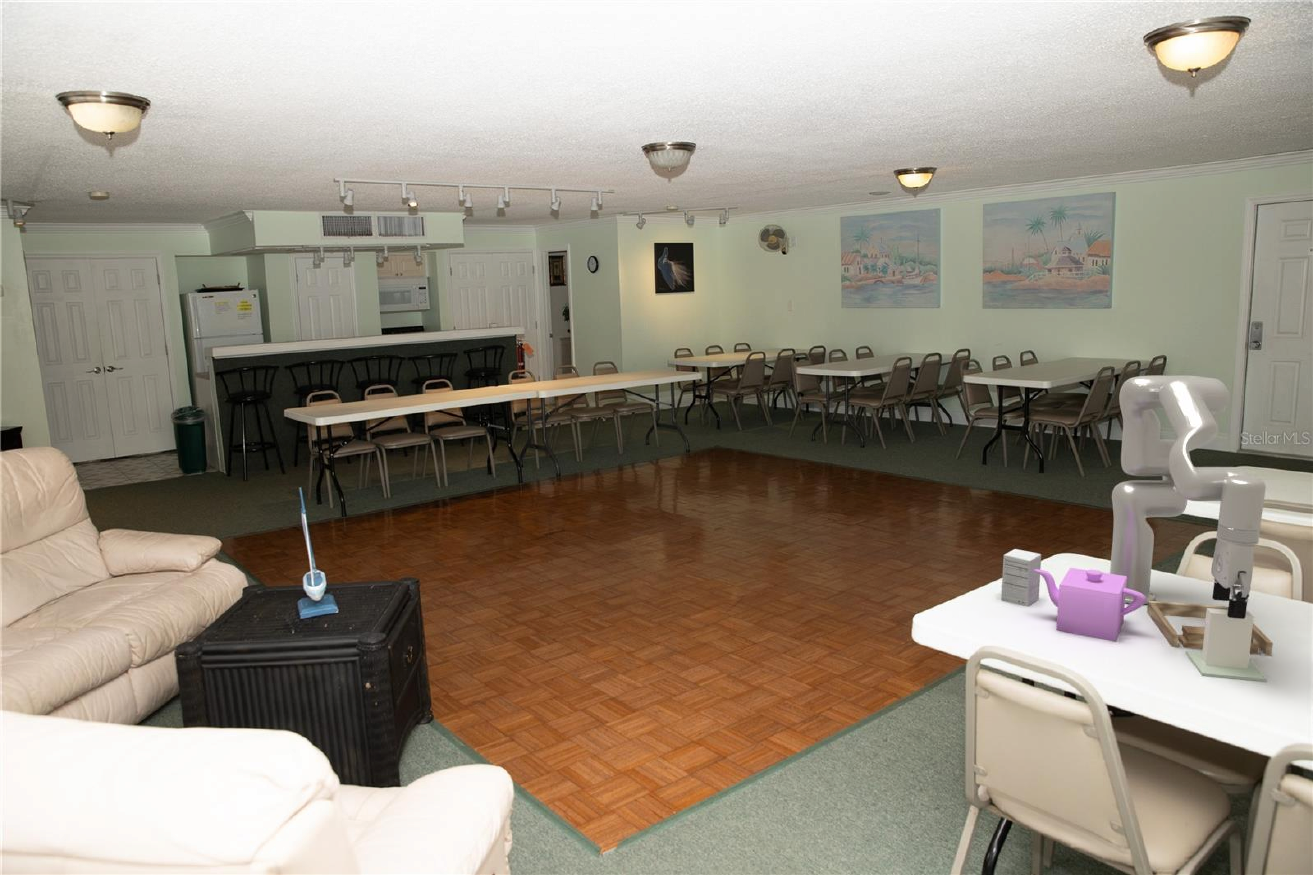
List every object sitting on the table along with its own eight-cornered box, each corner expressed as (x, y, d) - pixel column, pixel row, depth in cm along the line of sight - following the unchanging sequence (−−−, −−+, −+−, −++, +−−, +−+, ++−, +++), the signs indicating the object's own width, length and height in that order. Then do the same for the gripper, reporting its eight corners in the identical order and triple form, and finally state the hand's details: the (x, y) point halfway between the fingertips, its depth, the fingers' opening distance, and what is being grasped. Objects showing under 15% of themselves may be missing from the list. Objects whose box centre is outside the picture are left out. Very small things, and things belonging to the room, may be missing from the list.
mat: (1202, 675, 188) (1202, 673, 188) (1185, 652, 199) (1185, 650, 199) (1266, 681, 185) (1266, 679, 185) (1245, 658, 196) (1245, 655, 196)
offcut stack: (1183, 647, 202) (1185, 632, 202) (1177, 639, 207) (1178, 624, 206) (1258, 653, 198) (1259, 638, 198) (1250, 645, 203) (1252, 630, 202)
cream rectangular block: (1205, 665, 192) (1211, 612, 190) (1201, 659, 195) (1206, 608, 192) (1247, 669, 190) (1253, 616, 187) (1242, 663, 192) (1248, 611, 190)
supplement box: (1012, 592, 239) (1014, 548, 237) (1039, 599, 234) (1042, 553, 231) (1000, 599, 234) (1002, 554, 231) (1027, 606, 228) (1030, 560, 226)
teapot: (1037, 605, 230) (1040, 554, 227) (1145, 625, 216) (1150, 570, 213) (1024, 624, 217) (1028, 570, 215) (1139, 646, 203) (1144, 589, 201)
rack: (1171, 646, 203) (1172, 634, 202) (1146, 611, 224) (1147, 600, 223) (1271, 655, 197) (1272, 642, 197) (1236, 618, 218) (1237, 607, 218)
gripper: (1205, 520, 196) (1196, 592, 200) (1231, 545, 180) (1221, 623, 183) (1243, 522, 194) (1234, 595, 198) (1274, 548, 178) (1263, 626, 181)
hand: (1228, 608), depth 191 cm, fingers open, 9 cm apart
